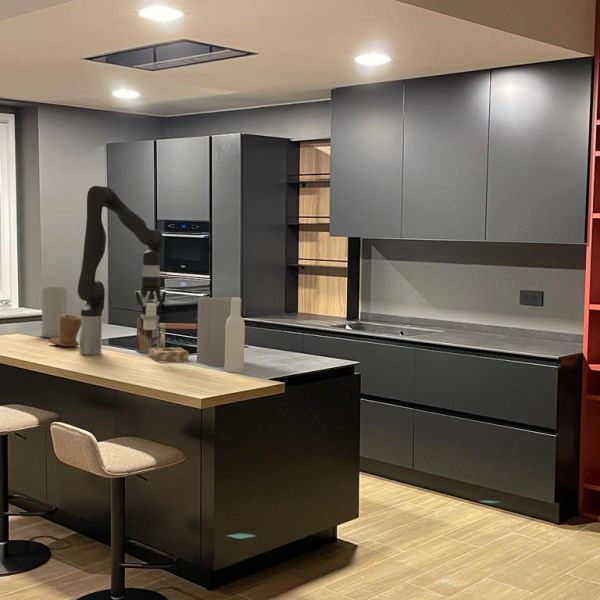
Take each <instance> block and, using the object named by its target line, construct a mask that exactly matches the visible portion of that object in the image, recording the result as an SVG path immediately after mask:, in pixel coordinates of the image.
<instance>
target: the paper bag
mask: <svg viewBox="0 0 600 600" xmlns="http://www.w3.org/2000/svg"><path fill="white" fill-rule="evenodd" d="M232 298H240V301H241V303H240V316H241V317H242V315H241V314H242V298H241V297H239V296H238V297H236V296H228V297H225V296H224V297H223V296H222V297H221V296H219V297H198V298H197V329H196V330H197V331H196V332H197V334H196V335H197V336H196V340H197V341H196V363H197V364H200V365H209V366H223V367H225V337H226V322H227V319H228V318H229V317H230V316H231V300H232Z"/></svg>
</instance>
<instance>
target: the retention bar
mask: <svg viewBox="0 0 600 600" xmlns="http://www.w3.org/2000/svg"><path fill="white" fill-rule="evenodd" d="M197 326H198V323H169V322H168V323H167V322H160V329H161V328H165V329H181V330H182V329H183V330H184V329H185V330H187V329H190V330H197Z"/></svg>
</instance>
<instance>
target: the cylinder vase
mask: <svg viewBox="0 0 600 600" xmlns="http://www.w3.org/2000/svg"><path fill="white" fill-rule="evenodd" d="M41 289H42V290H41V336H42V337H44V338H49V339H51V338H57V337H58V338H59V337H60V335H61V333H60V319H61V316H62V315H68V287H61V286H60V287H59V286H46V287H43V286H42V287H41Z"/></svg>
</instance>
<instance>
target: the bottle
mask: <svg viewBox="0 0 600 600" xmlns="http://www.w3.org/2000/svg"><path fill="white" fill-rule="evenodd" d="M240 298H241V297H238V298H232V300H231V316H230V317H229V318H228V319H227V322H226V337H225V366H224V372H225V373H226V372H227V373H233V374H234V373H243V372H244V371H245V335H246V334H245V331H246V327H245V326H246V322H245V320H244V318H243V317H242V315H241V316H240V303H241V304H242V300H241V301H240Z"/></svg>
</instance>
